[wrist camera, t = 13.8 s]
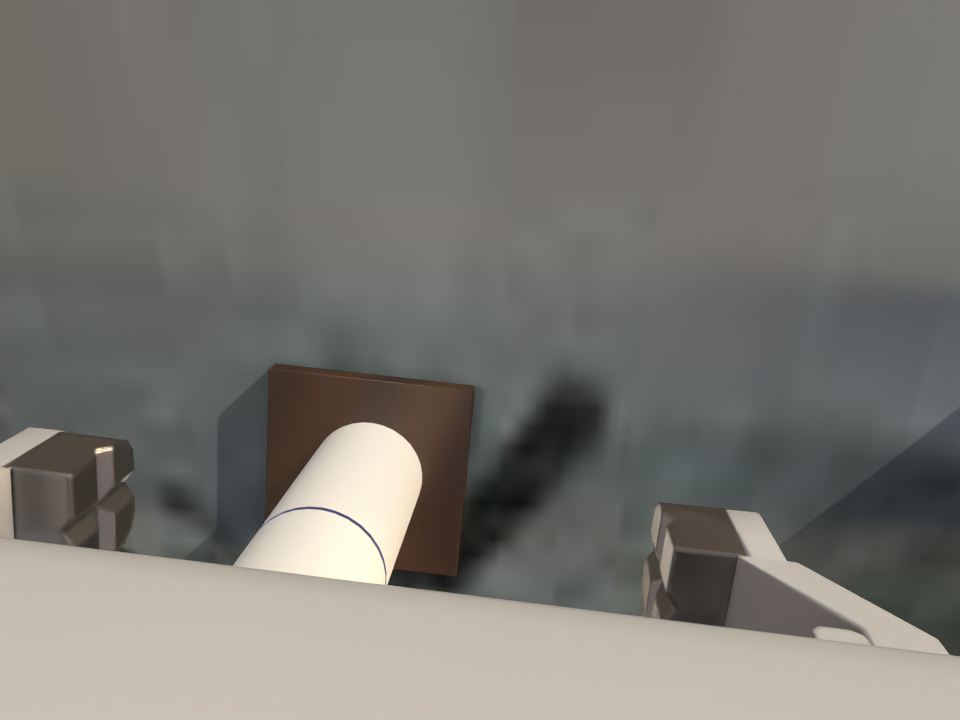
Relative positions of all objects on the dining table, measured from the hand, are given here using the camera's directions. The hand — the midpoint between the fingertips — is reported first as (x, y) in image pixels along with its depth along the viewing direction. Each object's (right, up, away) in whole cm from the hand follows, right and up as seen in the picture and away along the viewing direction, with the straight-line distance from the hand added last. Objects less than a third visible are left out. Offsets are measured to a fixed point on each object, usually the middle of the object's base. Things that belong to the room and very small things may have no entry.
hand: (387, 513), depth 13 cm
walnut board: (-6, -5, +42) cm, 43 cm away
